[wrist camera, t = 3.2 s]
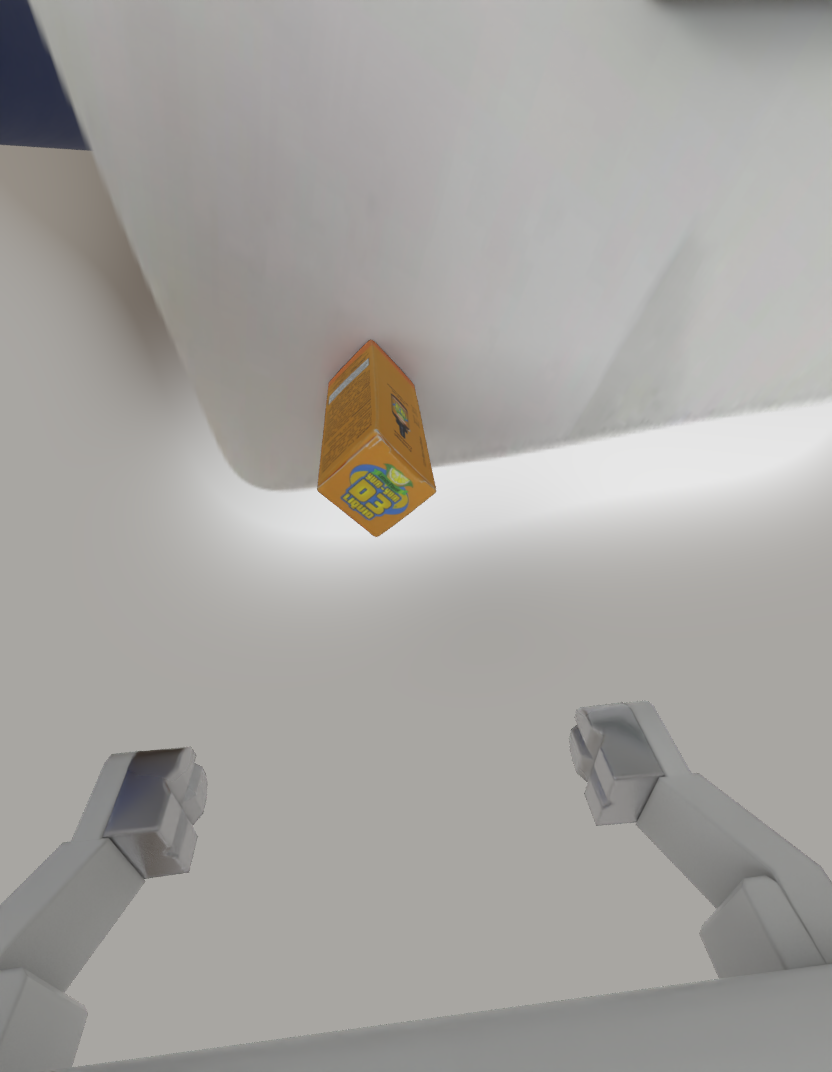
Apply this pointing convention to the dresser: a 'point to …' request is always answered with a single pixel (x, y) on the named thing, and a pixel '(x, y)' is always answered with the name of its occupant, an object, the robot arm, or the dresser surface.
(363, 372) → the supplement box
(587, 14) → the dresser surface
